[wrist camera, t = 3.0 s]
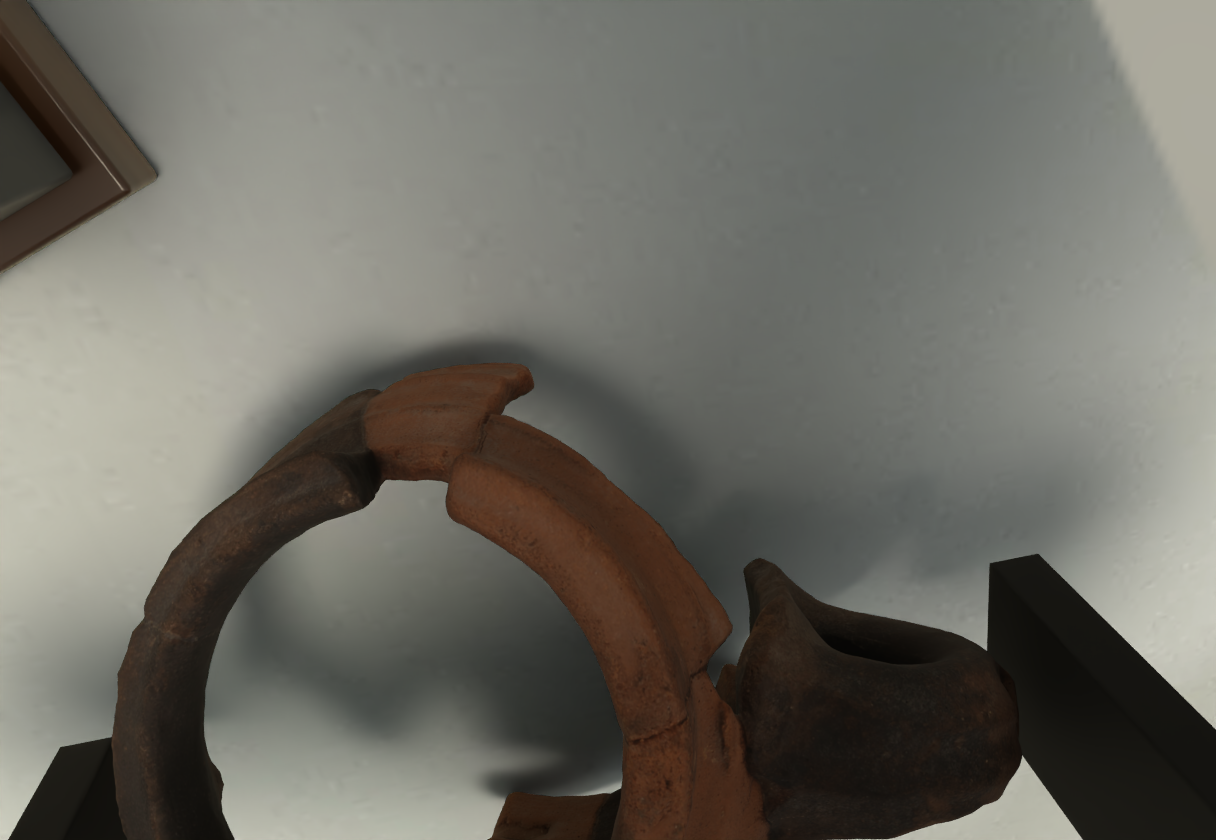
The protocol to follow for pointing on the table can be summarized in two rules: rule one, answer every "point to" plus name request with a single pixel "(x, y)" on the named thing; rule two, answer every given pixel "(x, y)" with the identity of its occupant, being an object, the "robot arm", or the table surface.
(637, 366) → the table surface
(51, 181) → the window sash
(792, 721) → the pottery mug
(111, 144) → the brown piece
